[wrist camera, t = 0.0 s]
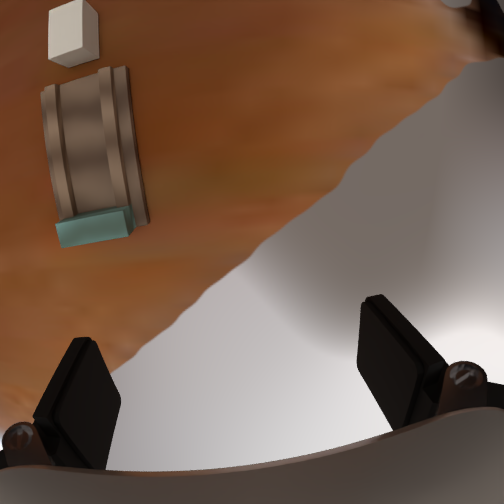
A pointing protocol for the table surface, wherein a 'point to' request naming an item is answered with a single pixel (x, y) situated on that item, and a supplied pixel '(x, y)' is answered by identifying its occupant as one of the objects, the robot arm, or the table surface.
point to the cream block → (73, 34)
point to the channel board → (94, 157)
